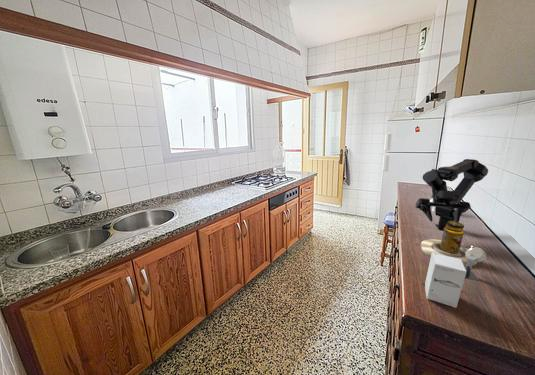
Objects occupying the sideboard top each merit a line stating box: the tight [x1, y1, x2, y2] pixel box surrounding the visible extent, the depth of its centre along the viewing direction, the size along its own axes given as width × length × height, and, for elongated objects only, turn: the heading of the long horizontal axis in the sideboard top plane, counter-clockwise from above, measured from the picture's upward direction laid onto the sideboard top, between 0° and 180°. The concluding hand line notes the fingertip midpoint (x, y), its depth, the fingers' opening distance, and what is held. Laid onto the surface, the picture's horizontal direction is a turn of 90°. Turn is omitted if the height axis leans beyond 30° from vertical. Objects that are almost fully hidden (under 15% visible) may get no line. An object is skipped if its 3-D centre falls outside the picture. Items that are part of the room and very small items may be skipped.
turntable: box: [420, 238, 478, 267], centre depth 89 cm, size 18×18×2 cm
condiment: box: [433, 221, 465, 256], centre depth 87 cm, size 7×8×12 cm
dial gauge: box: [462, 244, 487, 282], centre depth 76 cm, size 8×5×12 cm, turn 160°
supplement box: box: [424, 253, 467, 309], centre depth 66 cm, size 7×7×13 cm
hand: (444, 222), depth 94 cm, fingers open, 9 cm apart
